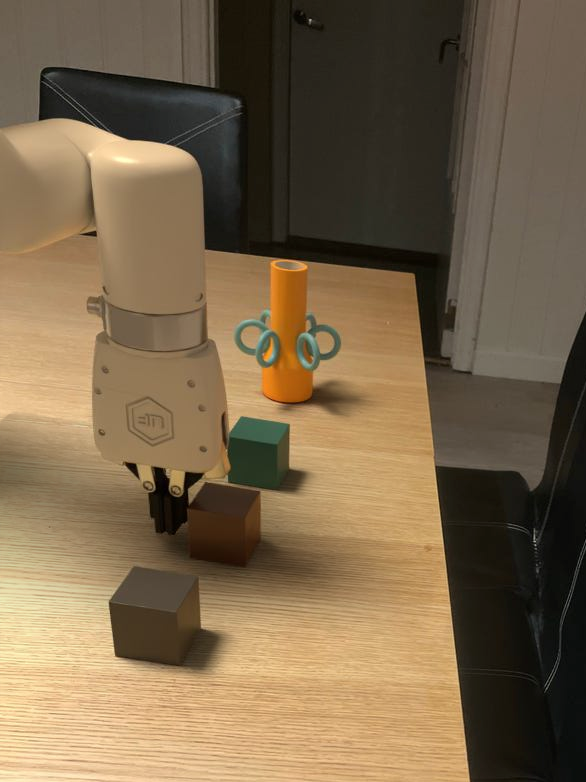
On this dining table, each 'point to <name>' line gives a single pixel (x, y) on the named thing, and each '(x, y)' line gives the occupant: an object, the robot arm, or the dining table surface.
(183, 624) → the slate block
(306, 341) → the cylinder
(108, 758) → the dining table surface
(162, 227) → the robot arm
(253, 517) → the walnut block
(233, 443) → the teal block
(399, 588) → the dining table surface
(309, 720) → the dining table surface
